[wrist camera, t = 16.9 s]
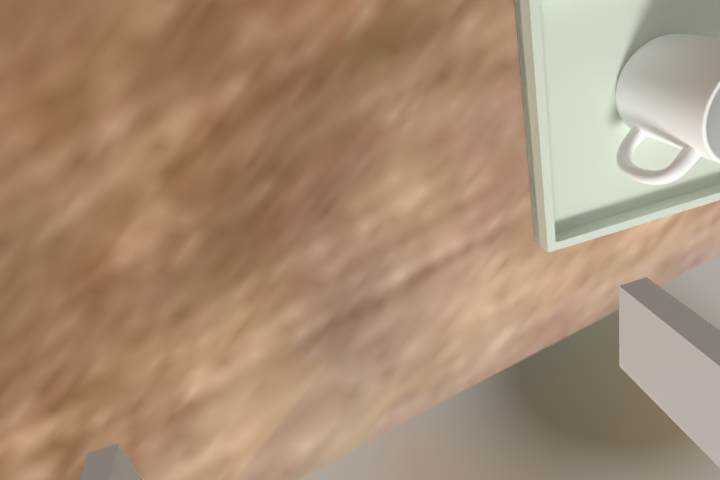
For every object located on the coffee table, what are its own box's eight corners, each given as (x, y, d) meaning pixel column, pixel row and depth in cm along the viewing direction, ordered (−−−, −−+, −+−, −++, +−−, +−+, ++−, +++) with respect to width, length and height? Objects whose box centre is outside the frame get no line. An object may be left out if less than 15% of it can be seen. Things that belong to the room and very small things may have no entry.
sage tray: (513, -7, 41) (528, -6, 39) (749, -70, 42) (777, -73, 40) (534, 241, 51) (548, 252, 49) (725, 183, 52) (746, 191, 50)
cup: (718, 72, 46) (834, 92, 37) (621, 183, 49) (706, 228, 40) (664, 10, 43) (775, 16, 34) (563, 134, 46) (641, 170, 37)
